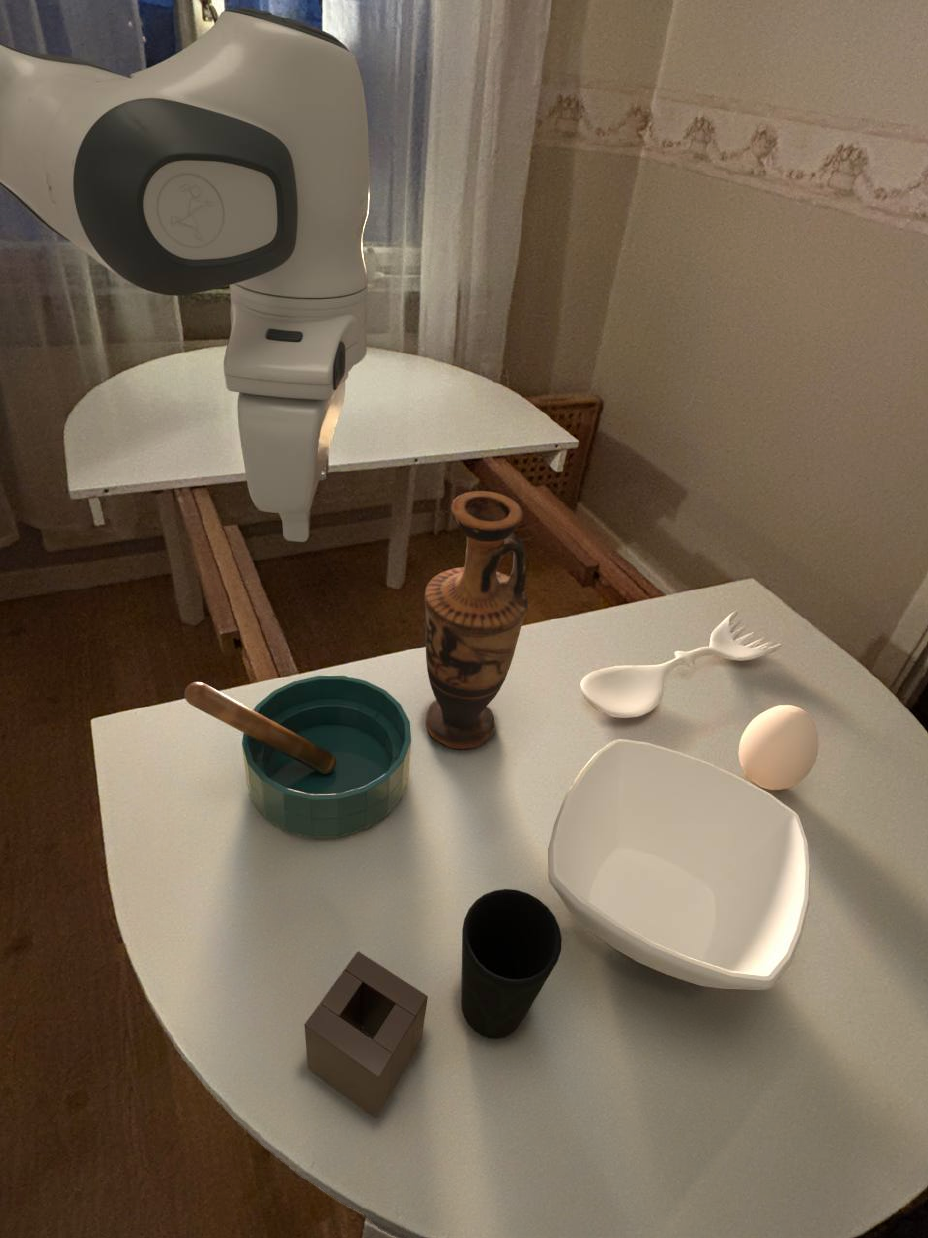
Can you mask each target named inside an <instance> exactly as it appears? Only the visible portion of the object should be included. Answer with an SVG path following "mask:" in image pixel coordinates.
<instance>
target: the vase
mask: <svg viewBox="0 0 928 1238" xmlns="http://www.w3.org/2000/svg"><path fill="white" fill-rule="evenodd" d="M450 510H451V515H452V517H453V519H454V520H453V521H454V522H455V523H456V526H457V528H458V530H459V531H460V532H461V534H462V535H464V536H465V537H466V549H465V559H464V565H463V566H462V567H453V568H451V569H447V570H444V571H442V572H440V573H438V574H436V575H435V576H434V577H432V578H431V580H430V581H428V583H427V585H426V587H425V590H424V604H425V662H426V671H427V675H428V681H429V684H430V687H431V690H432V694H433V695H434V697H435V700H434V701H433V702H432V703H431V704H430V705H429V707H428V709H427V711H426V713H425V717H424V718H425V719H424V722H425V727H426V730H427V732H428V733H429V735H430V736H431V737H432V738H433V740H435V741H437V742H438V743H441V744H443V745H444V746H445V747H448V748H449V749H451V748H452V749H456V750H470V749H475V748H478V747H480V746H482V745H483V744H485V743H486V742H487V741H488V740H489V739H490V738H491V737H492V736H493V734H494V730H495V725H496V724H495V716H494V713H493V711H492V709H491V708H490V707H488V706H489V704H491V702H492V701H493V700H494V699H495V698H496V696H497V694H498V693H499V692H500V690H501V688H502V686H503V684H504V682H505V680H506V678H507V676H508V673H509V671H510V668H511V665H512V663H513V659H514V656H515V653H516V648H517V644H518V641H519V637H520V633H521V630H522V625H523V622H524V619H525V617H526V612H527V610H528V607H529V606H528V604H529V603H528V600H529V599H528V596H527V594H526V590H525V588H526V579H527V557H526V552H525V548H524V544H523V542H522V539H521V537H519V535H517V533H514V531H515V530H516V529H517V528H518V526H519V525H520V524H521V521H522V520H523V518H524V512H523V508H522V507H521V505H520V504H519V503H517V502H516V501H515V500H513V498H511V497H509V496H506V495H504V494H502V493H499V492H494V491H485V490H475V491H468V492H465V493H463V494H459V495H458V496H457V497H456V498H455V499H453V500H452V504H451V507H450ZM509 552H513V557H512V559H513V560H512V569H511V573H510V575H509V576H508V575H507V574H505V573H502V572H500V571H498V569H499V566H500V564H501V562H502V559H503V558H504V557H505V556H506V555H507V554H508V553H509Z"/></svg>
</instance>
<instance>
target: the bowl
mask: <svg viewBox="0 0 928 1238" xmlns="http://www.w3.org/2000/svg"><path fill="white" fill-rule="evenodd" d="M558 810H559V811H558V812H557V815H556V818H555V821H554V823H553V827H552V832H551V836H550V840H549V845H548V848H547V868H548V869H547V871H548V873H547V874H548V881H549V883H550V885H551V886H552V888H553V889H554V891H555V892H556V894H557V896H558V897H559V898H560V900H561V902H562V904H563V905H564V907H565V908H566V909H567V911H568V913H570V915H572V916H573V917H574V918H575V920H577V922H578V923H580V924H581V926H583V928H585V929H586V930H588V931H589V932H591V933H592V934H593V935H595V936H596V937H598V938H599V939H601V940H602V941H603V942H605V943H606V944H607V945H609V946H610V947H612V948H613V949H615V950H616V951H618V952H620V953H622V954H623V955H625V956H627V957H628V958H630V959H631V960H633V961H635V962H637V963H639V964H641V965H644V966H646V967H648V968H649V969H652V970H655V971H657V972H660V973H661V974H664V975H667V976H670V977H673V978H676V979H678V980H682V981H685V982H688V983H691V984H694V985H697V986H700V987H707V988H716V989H723V990H724V989H728V990H747V991H748V990H751V991H768V990H769V989H771V988H772V987H773V986H774V985H776V983H777V981H779V979H780V978H781V977H782V976H783V974H784V973H785V972H786V971H787V970H788V969H789V968H790V965H791V963H792V960H793V958H794V956H795V953H796V951H797V948H798V946H799V944H800V941H801V939H802V934H803V931H804V926H805V923H806V918H807V914H808V910H809V906H810V893H811V891H810V890H811V862H810V852H809V851H810V850H809V844H808V840H807V837H806V833H805V831H804V827H803V825H802V822H801V819H800V817H799V814H798V813H797V812H795V811H794V810H793V809H792V808H790V807H789V806H788V805H786V804H785V803H784V802H782V801H781V800H779V798H777V797H775V796H774V795H773V794H771V793H769V792H768V791H766V790H764V789H763V788H761V787H759V786H758V785H756V784H754V783H751V782H749V781H747V780H745V779H744V778H742V777H740V776H738V775H736V774H734V773H732V772H730V771H727V770H725V769H723V768H721V767H719V766H717V765H715V764H712V763H711V762H708V761H706V760H702V759H700V758H697V757H695V756H692V755H689V754H686V753H684V752H681V751H678V750H674V749H671V748H668V747H664V746H661V745H657V744H653V743H650V742H646V741H639V740H631V739H625V738H616V739H614V740H612V741H611V742H609V743H608V744H606V745H605V746H603V747H602V748H600V749H599V750H598V751H597V752H595V753H594V754H593V756H591V758H590V759H589V760H588V762H587V763H586V764H585V765H584V766H583V767H582V768H581V770H580V771H579V773H578V775H577V776H576V778H575V779H574V781H573V782H572V784H571V786H570V787H569V788H568V791H567V792H566V794H565V795H564V796H563V800H562V803H561V805H560V807H559V809H558Z"/></svg>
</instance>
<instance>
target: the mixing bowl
mask: <svg viewBox="0 0 928 1238" xmlns="http://www.w3.org/2000/svg"><path fill="white" fill-rule="evenodd" d="M253 710H254V711H256V712H257V713H259V714H261V715H263V716H265V717H266V718H268V719H270V720H272V721H274V722H275V723H277V724H279V725H281V726H283V727H285V728H286V729H288V730H290V731H292V732H294V733H295V734H297V735H299V736H301V737H303V738H305V739H306V740H308V741H310V742H312V743H314V744H315V745H317V746H319V747H321V748H323V749H324V750H326V751H328V752H330V753H331V754H333V755H334V756H335V758H336V767H335V769H334V770H333V771H332V772H330V773H328V774H321V773H319V772H317V771H315V770H313V769H311V768H309V767H308V766H306V765H304V764H302V763H300V762H298V761H296V760H294V759H292V758H291V757H289V756H287V755H285V754H283V753H281V752H279V751H277V750H275V749H273V748H272V747H270V746H268V745H266V744H264V743H262V742H260V741H258V740H256V739H255V738H253V737H251V736H249V735H247V734H245V733H243V732H242V733H243V734H242V739H241V740H242V741H241V747H242V755H243V756H242V757H243V762H244V771H245V778H246V779H245V780H246V784H247V788H248V791H249V795H250V800H251V802H252V803H253V804H254V806H255V807H256V808H257V810H258V811H259V812H260V813H261V814H262V816H263V817H264V818H265V819H266V820H267V821H269V822H271V823H272V824H274V825H276V826H278V827H279V828H281V829H283V830H284V831H285V832H288V833H292V834H296V835H300V836H304V837H307V838H313V839H315V838H339V837H341V838H342V837H343V836H344V837H345V836H347V835H350V834H353V833H357V832H360V831H363V830H366V829H368V828H370V827H371V826H372V825H374V824H376V823H377V822H378V821H380V820H382V819H383V818H385V817H386V816H388V814H389V813H390V812H391V811H392V810H393V809H394V807H395V806H396V805H397V804H398V802H399V801H400V800H401V799H402V797H403V794H404V791H405V788H406V785H407V782H408V779H409V771H410V759H411V747H412V735H411V734H412V731H411V721H410V720H409V718H408V715H407V713H406V711H405V710H404V707H403V706H402V703H400V702H399V701H398V700H396V698H395V697H394V696H393V695H392V694H390V693H389V692H388V691H387V690H386V689H385V688H382V687H380V686H378V685H375V684H373V683H372V682H369V681H368V680H365V679H361V678H357V677H351V676H347V675H315V676H310V677H306V678H302V679H297V680H294V681H291V682H289V683H287V684H285V685H283V686H280V687H279V688H276V689H274V690H273V691H271V692H270V693H269V694H268V695H267V696H266V697H264V698H263V699H262V700H261V701H260V702H258V703H257V704H256V705H255V706H254V708H253Z"/></svg>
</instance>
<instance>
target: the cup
mask: <svg viewBox="0 0 928 1238" xmlns="http://www.w3.org/2000/svg"><path fill="white" fill-rule="evenodd" d="M562 943H563V939H562V933H561V927H560V925H559V923H558V921H557V919H556V916H555V915H554V913H553V912H552V911H551V909H550V908H549V907H548V906H547V905H546V904H545V903H543V902H542V901H541V900H540V899H539V898H537V897H536V896H533V895H532V894H530V893H528V892H526V891H521V890H519V889H511V888H504V889H502V888H501V889H496V890H492V891H490V892H487V893H485V894H483V895H482V896H480V897H479V898H477V899H476V900H475V901H474V902H473V903H472V904H471V906H470V907H469V908H468V910H467V912H466V914H465V916H464V918H463V925H462V930H461V983H460V984H461V986H460V987H461V991H460V993H461V994H460V995H461V996H460V1005H461V1006H460V1007H461V1013H462V1015H463V1018H464V1020H465V1022H466V1023H467V1026H469V1027H470V1029H472V1030H473V1031H474V1033H477V1035H480V1037H484V1038H487V1039H493V1040H498V1039H505V1038H507V1037H509V1036H511V1035H512V1034H514V1033H515V1032H516V1031H517V1030H518V1029H519V1027H520V1026H521V1024H522V1023H523V1021H524V1020H525V1018H526V1017H527V1015H528V1013H529V1011H530V1009H531V1007H532V1006H533V1004H534V1003H535V1001H536V999H537V997H539V994H540V992H541V991H542V989H543V987H544V985H545V984H546V982H547V980H549V979H548V978H549V977H550V975H551V974H552V973H553V970H554V968H555V967H556V965H557V963H558V962H559V958H560V955H561V952H562V945H563V944H562Z"/></svg>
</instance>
